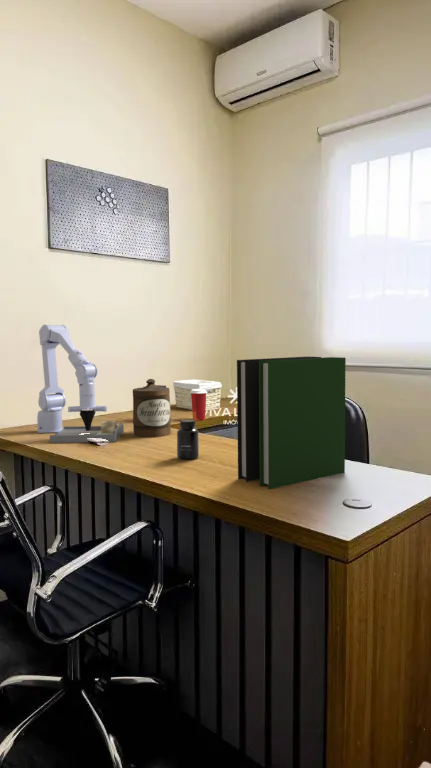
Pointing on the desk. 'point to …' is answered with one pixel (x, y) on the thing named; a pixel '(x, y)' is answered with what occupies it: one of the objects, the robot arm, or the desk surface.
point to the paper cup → (198, 404)
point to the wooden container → (151, 410)
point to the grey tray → (72, 434)
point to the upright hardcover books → (290, 419)
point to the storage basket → (186, 386)
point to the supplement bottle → (187, 440)
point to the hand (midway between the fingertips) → (88, 430)
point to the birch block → (108, 426)
